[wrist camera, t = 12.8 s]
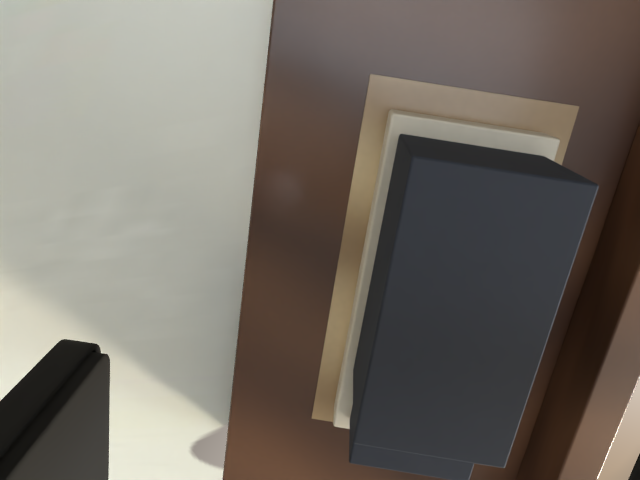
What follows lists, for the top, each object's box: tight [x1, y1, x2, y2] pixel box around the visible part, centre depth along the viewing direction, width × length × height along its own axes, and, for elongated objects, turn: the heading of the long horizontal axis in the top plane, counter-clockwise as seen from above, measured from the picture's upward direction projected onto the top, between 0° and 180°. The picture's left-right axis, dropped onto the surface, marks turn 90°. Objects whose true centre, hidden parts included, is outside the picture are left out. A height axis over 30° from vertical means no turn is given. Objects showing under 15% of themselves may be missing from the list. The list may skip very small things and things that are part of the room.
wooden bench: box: [223, 0, 640, 480], centre depth 18 cm, size 22×12×6 cm, turn 172°
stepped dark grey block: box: [333, 109, 599, 480], centre depth 15 cm, size 10×5×5 cm, turn 172°
